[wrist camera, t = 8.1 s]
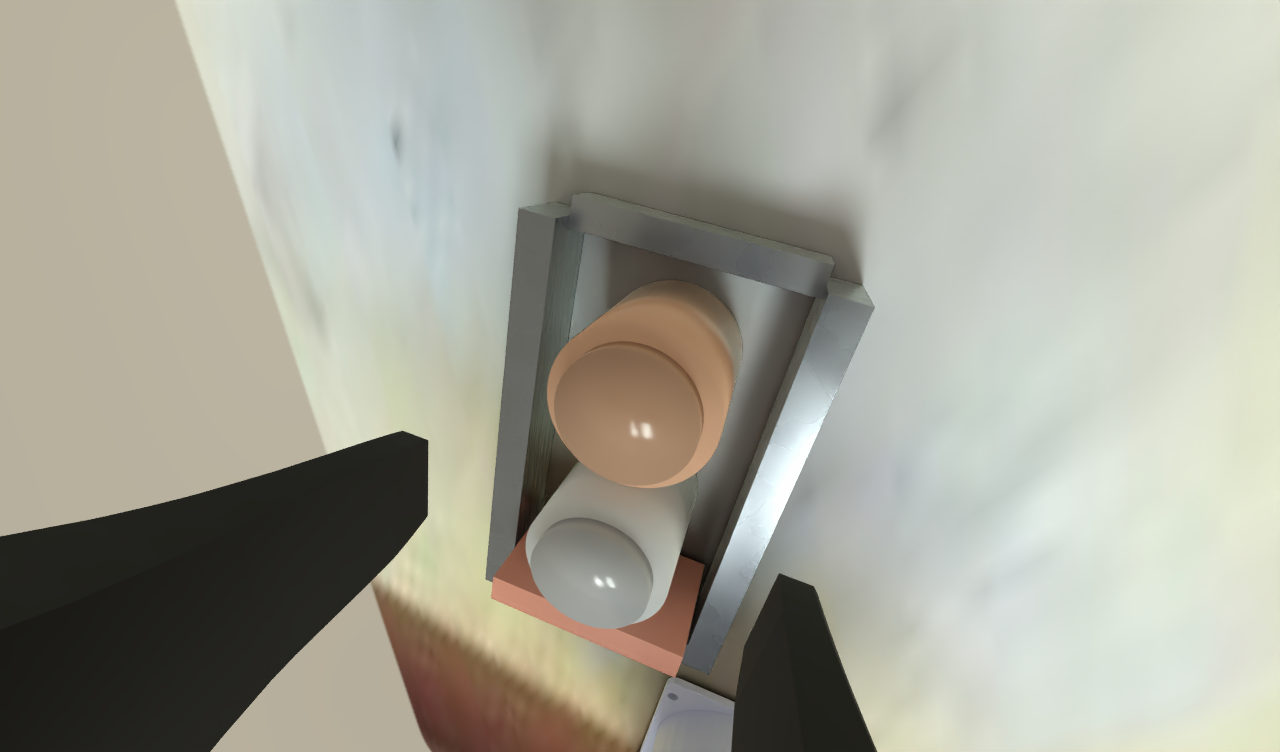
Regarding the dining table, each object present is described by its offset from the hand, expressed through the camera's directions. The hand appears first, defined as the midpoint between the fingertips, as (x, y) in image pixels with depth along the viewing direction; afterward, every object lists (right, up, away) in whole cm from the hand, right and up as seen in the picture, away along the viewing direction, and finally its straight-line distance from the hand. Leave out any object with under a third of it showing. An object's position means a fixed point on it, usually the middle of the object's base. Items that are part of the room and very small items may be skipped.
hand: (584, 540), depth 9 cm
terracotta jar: (+2, +4, +8) cm, 9 cm away
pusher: (0, -5, +12) cm, 13 cm away
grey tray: (+2, +1, +10) cm, 10 cm away
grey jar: (+1, -1, +11) cm, 11 cm away
